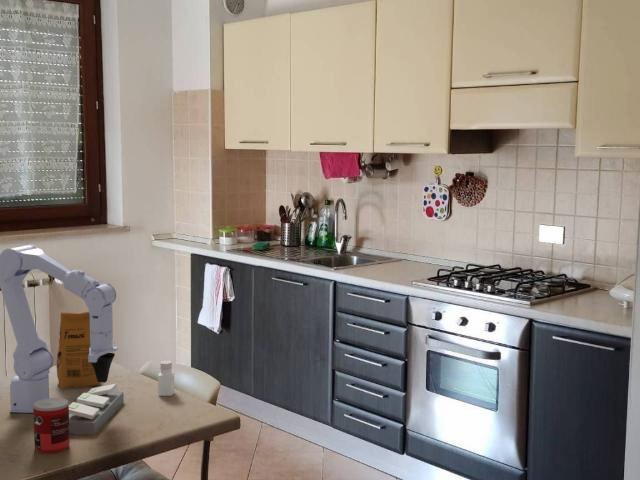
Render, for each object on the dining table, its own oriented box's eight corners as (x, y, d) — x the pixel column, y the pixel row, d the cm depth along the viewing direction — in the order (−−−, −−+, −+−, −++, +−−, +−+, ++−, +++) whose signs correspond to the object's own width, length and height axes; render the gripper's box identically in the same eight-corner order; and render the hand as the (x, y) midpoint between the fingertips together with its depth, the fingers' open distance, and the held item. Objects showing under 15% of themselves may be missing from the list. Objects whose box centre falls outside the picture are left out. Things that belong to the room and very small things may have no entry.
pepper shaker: (171, 396, 225) (171, 364, 224) (157, 396, 225) (157, 364, 224) (174, 392, 229) (174, 360, 228) (161, 392, 229) (160, 360, 228)
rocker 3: (64, 416, 197) (65, 408, 197) (71, 409, 202) (73, 401, 202) (91, 423, 197) (93, 415, 197) (98, 416, 202) (99, 408, 202)
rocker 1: (87, 401, 213) (85, 393, 213) (93, 395, 218) (92, 387, 218) (112, 396, 213) (110, 388, 213) (118, 390, 218) (116, 382, 218)
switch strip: (58, 433, 196) (58, 421, 196) (95, 397, 224) (95, 387, 223) (94, 434, 196) (94, 422, 196) (127, 398, 223) (127, 388, 223)
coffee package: (57, 380, 238) (55, 308, 236) (100, 377, 242) (98, 306, 239) (57, 390, 229) (54, 316, 226) (101, 387, 233) (99, 313, 230)
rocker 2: (75, 406, 205) (77, 398, 205) (82, 399, 210) (83, 392, 210) (102, 411, 205) (103, 403, 205) (108, 405, 210) (109, 397, 210)
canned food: (39, 441, 191) (37, 397, 190) (73, 441, 192) (72, 397, 190) (30, 454, 183) (28, 408, 182) (65, 453, 184) (64, 408, 183)
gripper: (107, 338, 198) (108, 390, 200) (125, 324, 213) (125, 374, 214) (79, 337, 199) (80, 390, 200) (99, 324, 213) (100, 373, 215)
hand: (102, 381), depth 207 cm, fingers closed
